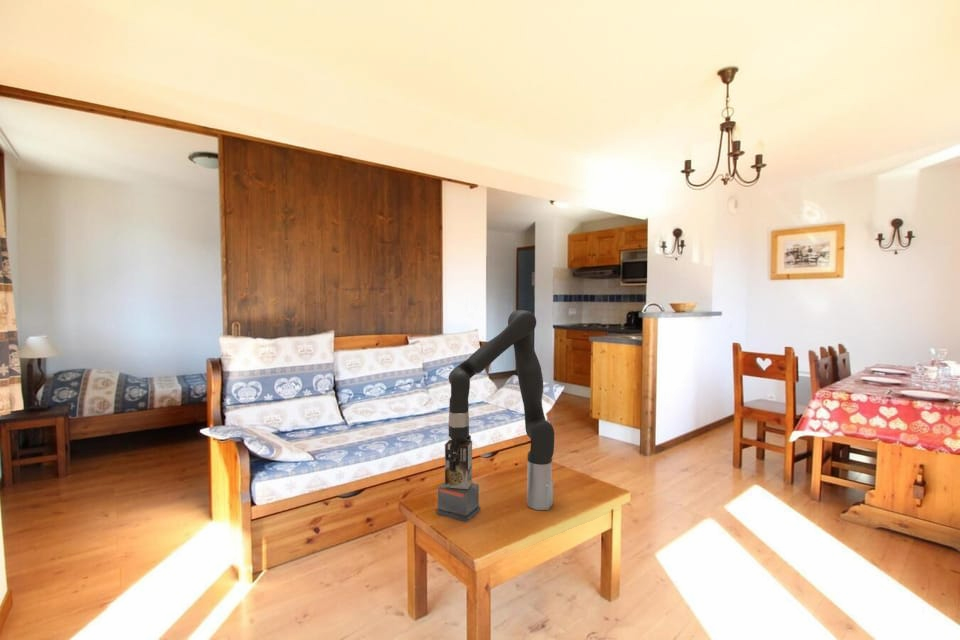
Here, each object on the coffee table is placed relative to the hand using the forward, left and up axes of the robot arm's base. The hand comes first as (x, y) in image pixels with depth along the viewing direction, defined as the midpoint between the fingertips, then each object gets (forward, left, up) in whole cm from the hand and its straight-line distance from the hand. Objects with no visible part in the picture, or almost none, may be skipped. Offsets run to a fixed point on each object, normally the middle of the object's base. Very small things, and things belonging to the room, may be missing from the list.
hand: (458, 467), depth 165 cm
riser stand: (0, 0, -17) cm, 17 cm away
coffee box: (0, 0, -7) cm, 7 cm away
